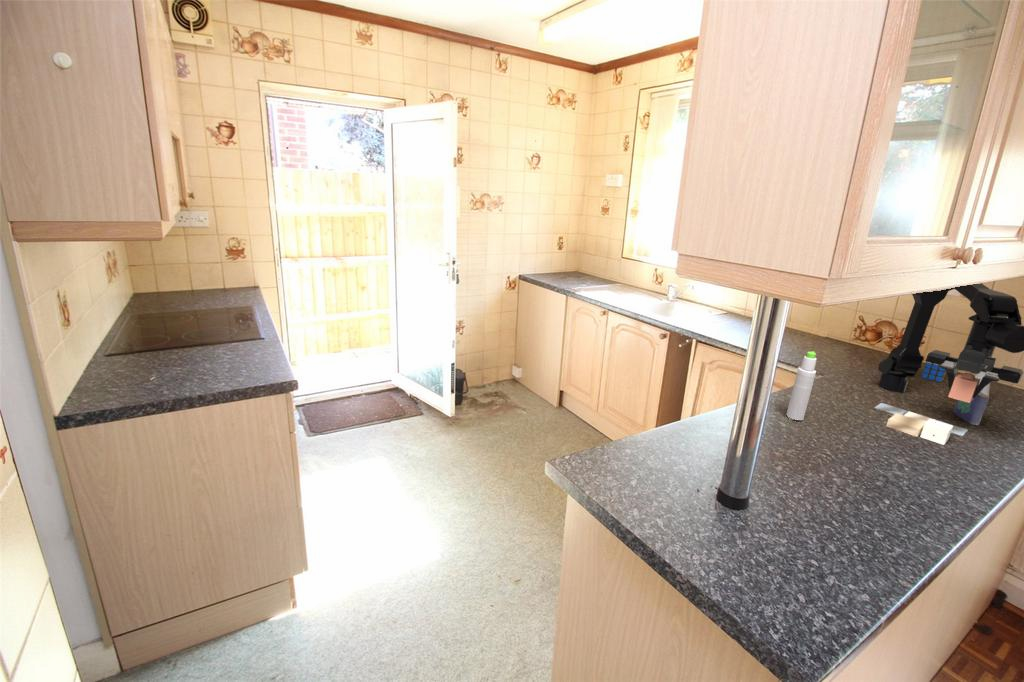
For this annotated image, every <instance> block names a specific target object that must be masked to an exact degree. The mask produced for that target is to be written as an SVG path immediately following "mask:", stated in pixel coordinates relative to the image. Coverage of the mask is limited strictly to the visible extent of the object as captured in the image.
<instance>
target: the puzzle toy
mask: <svg viewBox="0 0 1024 682" xmlns="http://www.w3.org/2000/svg"><path fill="white" fill-rule="evenodd" d="M942 364H943V363H942ZM942 364H940V365H938V364H934V363H930V362H926V361H925V363H924V367H923V369H922V373H921V375H920V378H922V379H926V380H930V381H935V382H937V383H938V382H939V383H942V382H943V381H944V379H945V376H946V375H947V373H946V371H945V369H942V368H941V366H942Z"/></svg>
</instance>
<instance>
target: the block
mask: <svg viewBox="0 0 1024 682" xmlns="http://www.w3.org/2000/svg"><path fill="white" fill-rule="evenodd" d="M904 415H905V414H903V415H901V414H898V413H896V414H892V416H891V417H889V418H888V420H887V421H886V422H887V423H886V427H888V428H889V429H892V430H896V431H899V432H902V433H905V434H908V435H911V436H912V437H920V436H921V433H922V430H923V427H924V425H925V423H926V422H923V421H919V420H916V419H913V418H910V417H907V416H904Z"/></svg>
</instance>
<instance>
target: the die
mask: <svg viewBox="0 0 1024 682" xmlns="http://www.w3.org/2000/svg"><path fill="white" fill-rule="evenodd" d="M932 419H933V418H932ZM932 419H929V420H928V421H927V422H926V423H925V425H924V427H923V430H922V433H921V434H920V435H919V437H920V438H922V439H925V440H927V441H931V442H933V443H937V444H940V445H942V446H945V445H946V443H947V442H948V440H949V438H950V436H951V434H952V433H951V431H952V428H953V426H952V425H953V424H951V425H949V424H950V423H948V424H945V423H946V422H945V423H942V422H943V421H941V422H939V421H940V420H937V419H935V420H932Z"/></svg>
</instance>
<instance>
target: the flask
mask: <svg viewBox="0 0 1024 682" xmlns="http://www.w3.org/2000/svg"><path fill="white" fill-rule="evenodd" d="M990 398H991V397H990V395H989V396H987V395H985V394H983V393H982V392H980V393H979V394H978V395H977V396H976V397H975V398H973V400H972V401H971V402H970V403H968V402H964V401H961V400H957V401H956V402H955V405H954V409H953V410H952V412H953V413H954V414H955V415H956V416H958V417H959V418H960V419H962V420H963V421H965V422H967V423H969V424H970V425H973V426H974V425H976V426H979V425H980V423H981V422H982V421H981V420H982V418H983V415H984V413H985V410H986V407H987V406H988V402H989V401H990Z"/></svg>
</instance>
